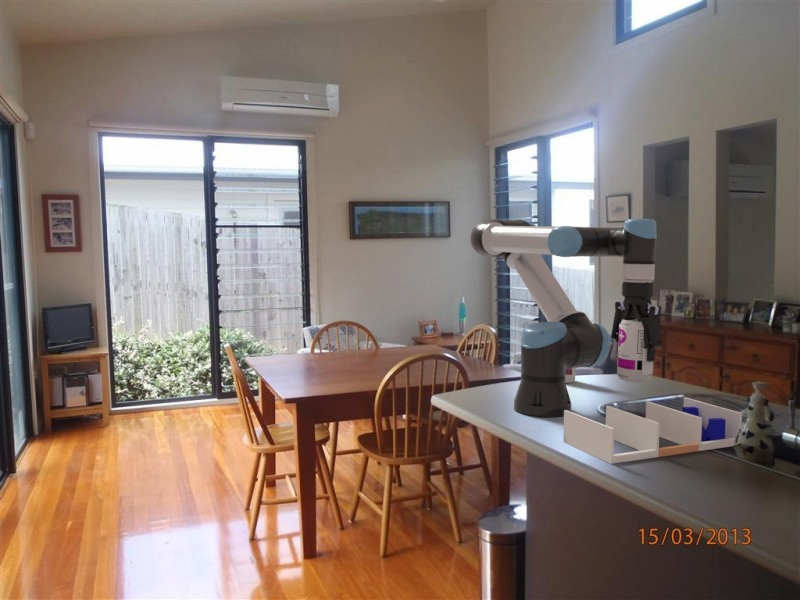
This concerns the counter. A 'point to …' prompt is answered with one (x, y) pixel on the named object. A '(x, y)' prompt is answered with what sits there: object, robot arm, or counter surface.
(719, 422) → the blue notched cradle block
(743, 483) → the counter surface
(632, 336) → the supplement can
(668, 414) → the can rack
